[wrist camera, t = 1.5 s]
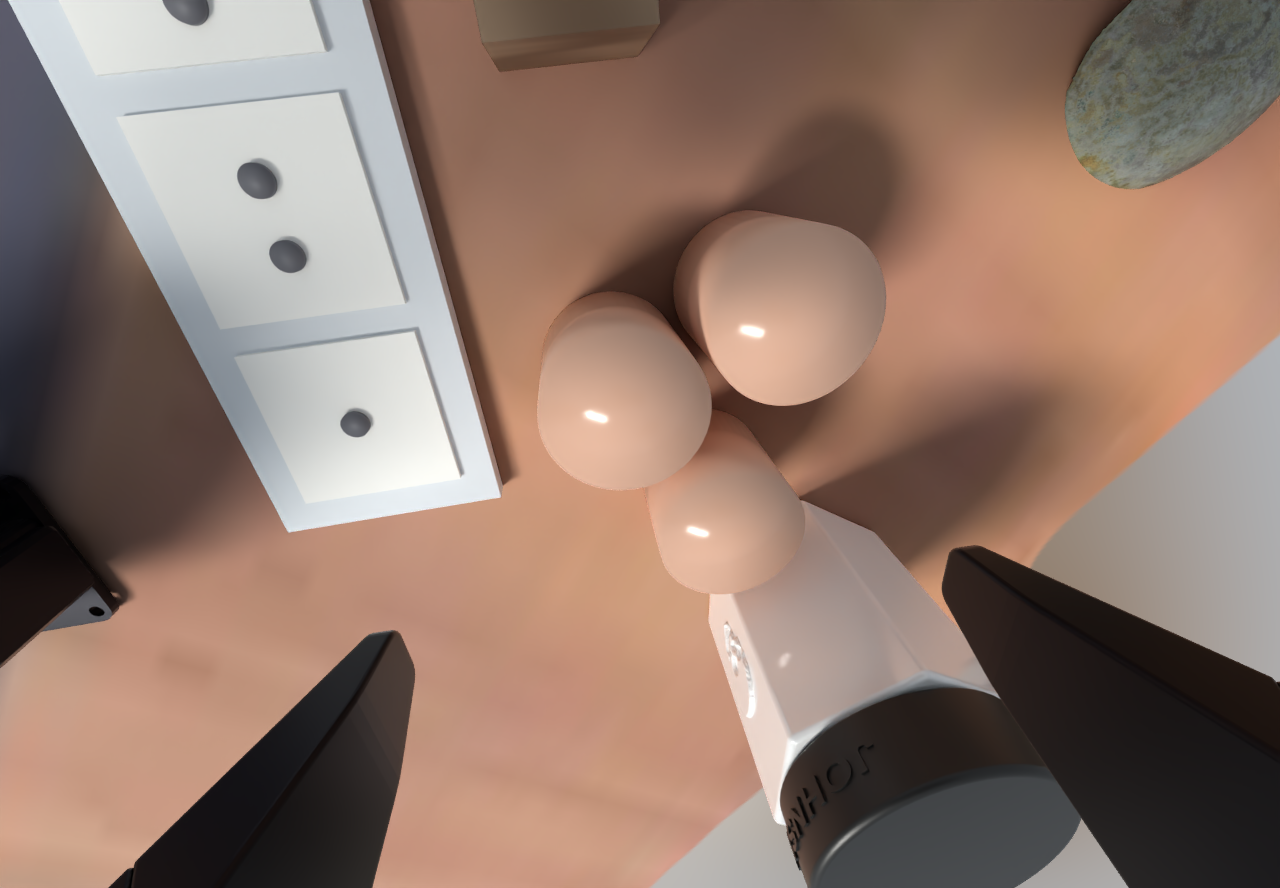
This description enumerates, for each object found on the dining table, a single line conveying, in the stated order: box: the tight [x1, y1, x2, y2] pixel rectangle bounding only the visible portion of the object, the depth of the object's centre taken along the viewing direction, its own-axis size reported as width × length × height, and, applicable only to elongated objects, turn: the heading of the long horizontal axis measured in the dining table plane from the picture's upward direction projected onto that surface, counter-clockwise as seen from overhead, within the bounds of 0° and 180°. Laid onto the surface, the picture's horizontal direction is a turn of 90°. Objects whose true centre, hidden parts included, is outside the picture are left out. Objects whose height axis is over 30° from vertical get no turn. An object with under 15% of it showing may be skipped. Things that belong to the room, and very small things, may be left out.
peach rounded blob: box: [673, 210, 886, 406], centre depth 17 cm, size 5×5×5 cm
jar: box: [709, 500, 1081, 888], centre depth 20 cm, size 9×8×12 cm
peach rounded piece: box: [643, 409, 806, 594], centre depth 20 cm, size 5×5×5 cm
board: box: [8, 0, 503, 532], centre depth 16 cm, size 8×21×1 cm, turn 6°
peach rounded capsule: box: [537, 291, 712, 490], centre depth 17 cm, size 5×5×5 cm
